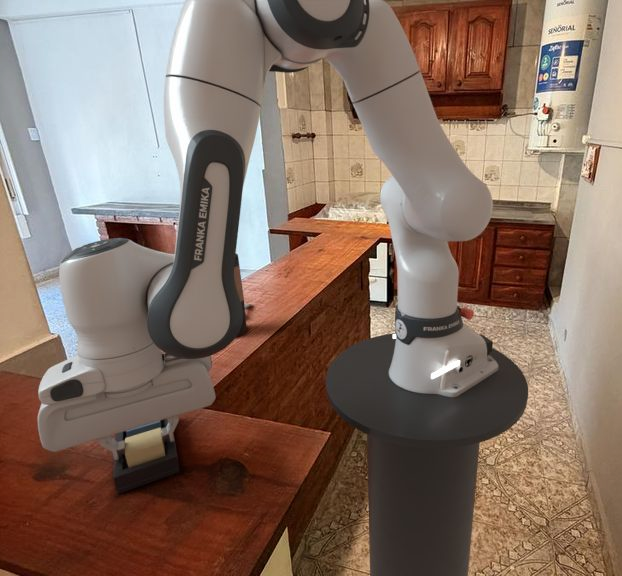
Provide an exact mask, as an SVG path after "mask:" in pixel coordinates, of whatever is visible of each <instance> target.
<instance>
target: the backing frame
mask: <svg viewBox="0 0 622 576" xmlns="http://www.w3.org/2000/svg"><path fill="white" fill-rule="evenodd" d="M161 422H162V428H165V427H167V425H168V420H167V419H164V420H161ZM114 435H115V436H114V439H115V440H116V441H117V442H120V441H124V440H125V438H127V434H126V431H124V432H120V433H117V434H114ZM173 435H174V436H175V431H174V432H173ZM176 444H177V443H176V439H175V437H174V441H173V442H170V443H167V444H164V445H165V453H166V456H163V457H160V458H157V459H154V460H151V461H148V462H145V463H142V464H139V465H136V466H133V467H130V468H128V464H127V460H126V457H125V458H122V459H118V460H114V459H113V482H114V485H115V489H116V492H117V495H120V494H123V493H126V492H128V491H131V490H133V489H137V488H140V487H142V486H145V485H148V484H150V483H153V482H156V481H158V480H162V479H164V478H167V477H170V476H173V475H175V474H179V473H180V472H181V470H180V462H179V458H178V456H179V455H178V451H177V445H176Z"/></svg>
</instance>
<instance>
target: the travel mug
mask: <svg viewBox="0 0 622 576" xmlns="http://www.w3.org/2000/svg"><path fill="white" fill-rule="evenodd" d="M234 279H235V285H236V289H237V292H238V295H239V298H240V301H241V305H242V309H243V322H242V326H241V329H240V331H239V333H238V335H237V336H236V338H237V337H241V336H243V335H244V334H246V333H247V330H248V329H247V318H246V309H245V305H244V304H245V296H244V288H243V282H242V273H241V267H240V259H239V254H238V253H236V254H235V264H234Z"/></svg>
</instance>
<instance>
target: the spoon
mask: <svg viewBox="0 0 622 576" xmlns="http://www.w3.org/2000/svg"><path fill="white" fill-rule="evenodd" d="M244 305H245V310H246V309H247V308H249V307H252V304H251V303H244Z"/></svg>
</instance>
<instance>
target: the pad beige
mask: <svg viewBox="0 0 622 576" xmlns="http://www.w3.org/2000/svg"><path fill="white" fill-rule="evenodd" d="M125 456H126V460H127V464H128V468H130V467H133V466H136V465H139V464H142V463H145V462H148V461H151V460H154V459H157V458H160V457H163V456H166V453H165V445H163V440H162V437H161V427H160V428H157V429H153V430H150V431H147V432H144V433H140V434H137V435H134V436H131V437H127V438H125Z"/></svg>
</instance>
